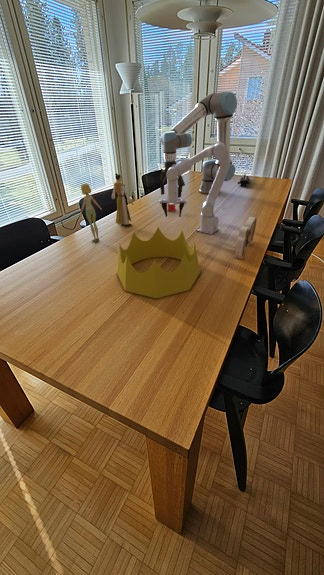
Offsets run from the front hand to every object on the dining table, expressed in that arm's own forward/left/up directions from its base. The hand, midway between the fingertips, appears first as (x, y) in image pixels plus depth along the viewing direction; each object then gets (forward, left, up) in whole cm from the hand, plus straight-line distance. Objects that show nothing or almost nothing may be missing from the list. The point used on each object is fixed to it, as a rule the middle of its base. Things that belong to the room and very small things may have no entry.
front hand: (173, 216), depth 149 cm
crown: (-23, +43, -8) cm, 49 cm away
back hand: (+21, -26, +2) cm, 33 cm away
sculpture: (+26, +36, -8) cm, 45 cm away
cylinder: (+21, -26, -8) cm, 34 cm away
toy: (+8, -117, -8) cm, 118 cm away
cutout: (-44, +2, -8) cm, 45 cm away
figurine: (+29, +11, -8) cm, 32 cm away
